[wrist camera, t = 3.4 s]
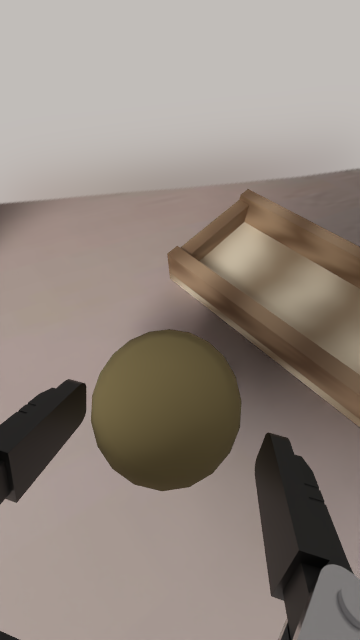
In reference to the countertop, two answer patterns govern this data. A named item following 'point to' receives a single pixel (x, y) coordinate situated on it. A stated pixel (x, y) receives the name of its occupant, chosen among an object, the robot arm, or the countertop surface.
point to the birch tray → (282, 292)
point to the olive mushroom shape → (166, 410)
